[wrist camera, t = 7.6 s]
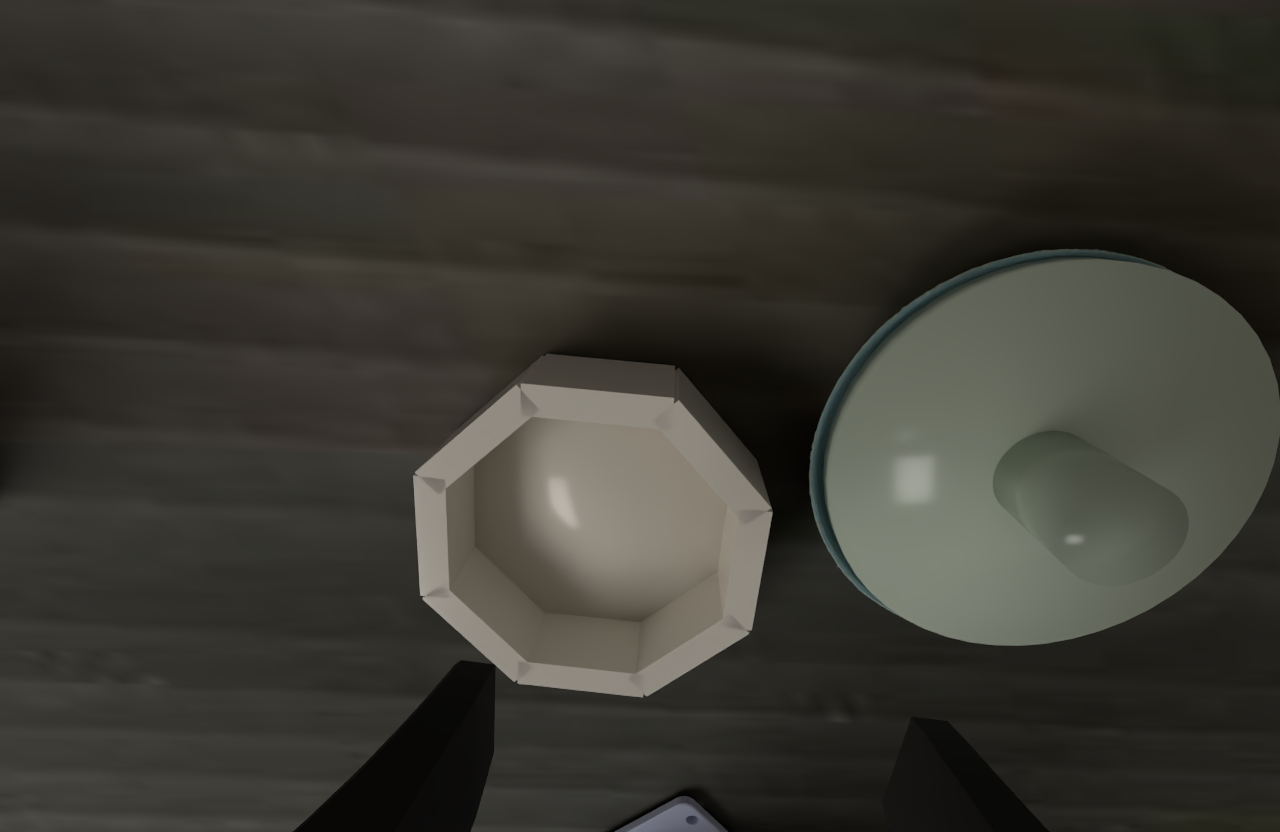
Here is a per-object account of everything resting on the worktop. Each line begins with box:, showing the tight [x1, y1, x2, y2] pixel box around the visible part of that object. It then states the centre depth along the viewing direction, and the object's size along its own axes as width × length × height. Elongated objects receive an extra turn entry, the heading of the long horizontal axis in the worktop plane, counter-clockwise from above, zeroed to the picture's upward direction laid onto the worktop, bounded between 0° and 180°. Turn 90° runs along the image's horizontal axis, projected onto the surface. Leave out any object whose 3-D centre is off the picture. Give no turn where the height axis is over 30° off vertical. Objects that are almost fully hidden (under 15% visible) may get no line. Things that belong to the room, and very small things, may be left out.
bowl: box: [413, 354, 773, 697], centre depth 18 cm, size 10×10×3 cm
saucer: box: [809, 249, 1172, 616], centre depth 18 cm, size 12×12×2 cm
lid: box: [823, 257, 1280, 646], centre depth 15 cm, size 11×11×4 cm
